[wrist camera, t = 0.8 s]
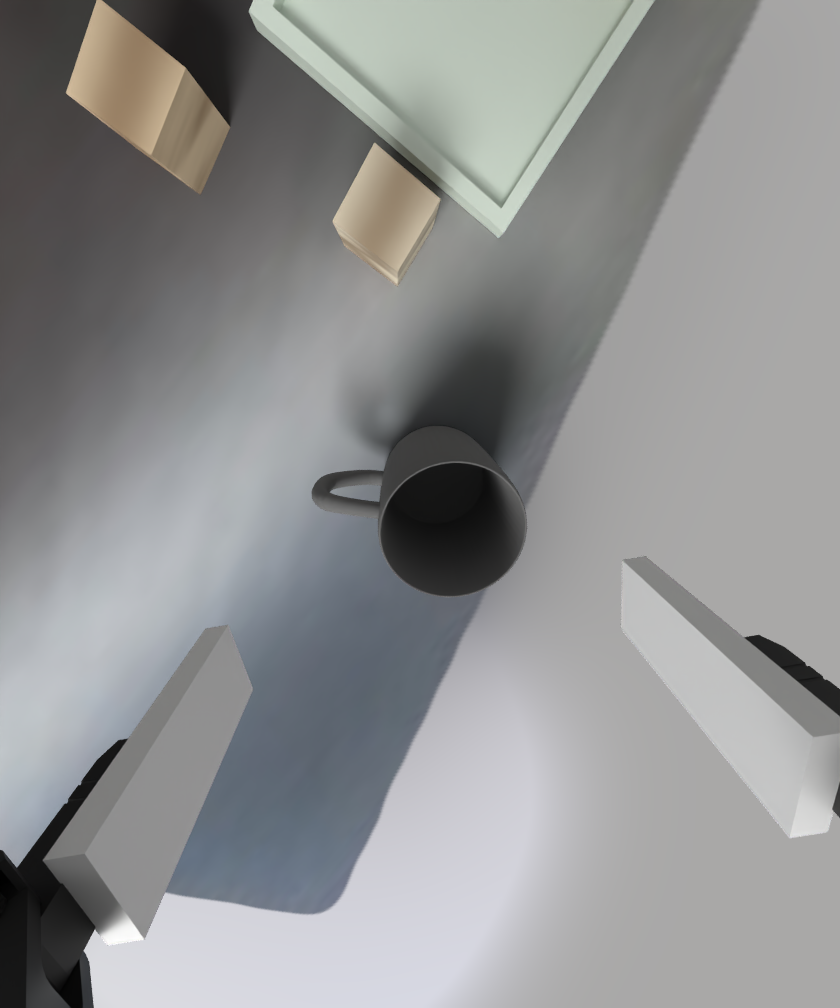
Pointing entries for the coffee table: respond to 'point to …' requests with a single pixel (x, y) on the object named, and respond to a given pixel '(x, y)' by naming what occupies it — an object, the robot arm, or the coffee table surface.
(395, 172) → the beech block
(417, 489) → the mug
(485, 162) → the tray
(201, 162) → the oak block
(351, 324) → the coffee table surface
